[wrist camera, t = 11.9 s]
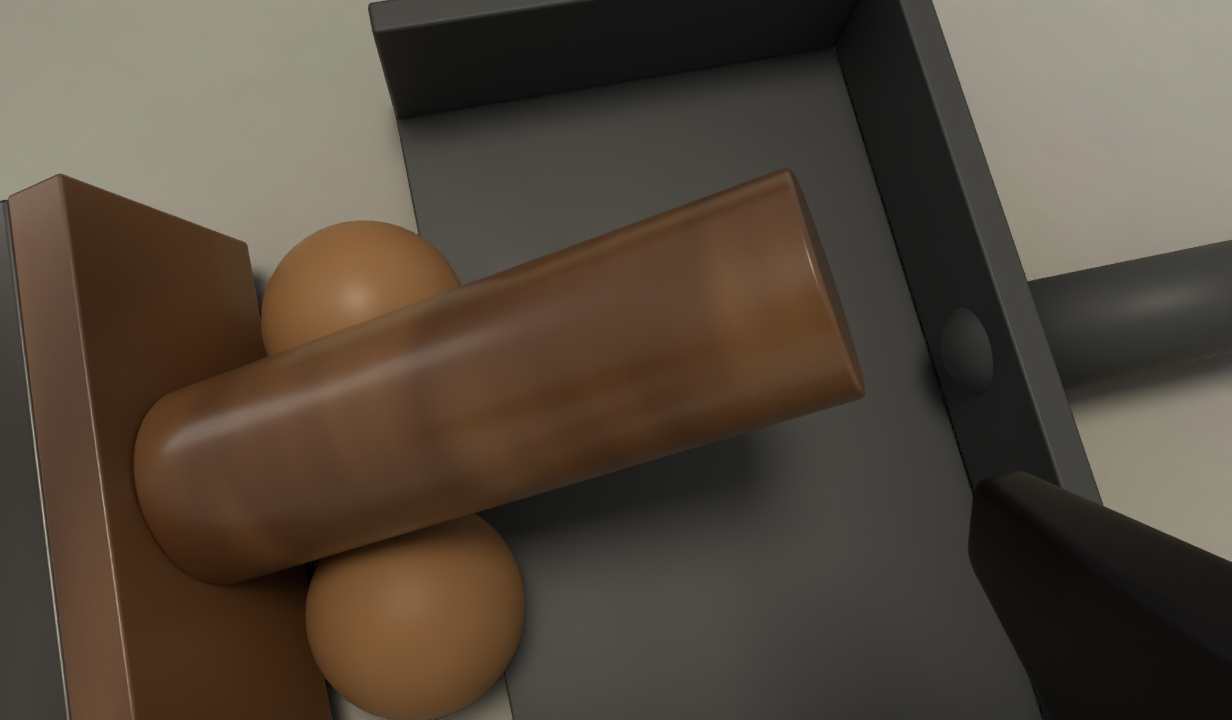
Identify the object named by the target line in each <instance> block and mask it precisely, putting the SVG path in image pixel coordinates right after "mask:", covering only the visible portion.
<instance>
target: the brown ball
mask: <svg viewBox="0 0 1232 720" xmlns="http://www.w3.org/2000/svg"><path fill="white" fill-rule="evenodd" d="M460 286H462V285H461V283H460V280H459V278H458V276H457V275H456V273H455V271H454V270H453V268H452V266H451V265H450V264H449V262H448V261H447V260H446V258H445V257H444V256H443V255H442V254H441V253H440V252H439V251H438V250H437V249H436V248H435V247H434V246H433V245H431V244H430V243H429V242H427V241H426V240H425V239H424V238H422V237H420V236H418V235H417V234H415V233H413V232H411V231H409V230H406V229H404V228H402V227H399V226H396V225H392V224H388V223H384V222H377V221H351V222H343V223H339V224H335V225H332V226H329V227H326V228H324V229H321V230H319V231H317V232H315V233H314V234H312V235H310V236H308V237H307V238H305V239H304V240H303V241H301V242H300V243H299V244H297V245H296V246H295V247H294V248H293V249H292V250H291V251H290V252H289V253H288V254H287V255H286V256H285V257H284V258H283V259H282V261H281V262H280V263H279V265H278V266H277V268H276V269H275V271H274V273H273V275H272V277H271V279H270V280H269V283H268V286H267V289H266V291H265V294H264V299H263V304H262V310H261V331H262V338H263V343H264V347H265V350H266V353H267V356H271V355H274V354H277V353H279V352H282V351H285V350H287V349H290V348H293V347H296V346H298V345H301V344H304V343H307V342H309V341H312V340H315V339H318V338H320V337H323V336H326V335H329V334H331V333H334V332H337V331H339V330H342V329H345V328H348V327H350V326H353V325H356V324H359V323H361V322H364V321H367V320H370V319H372V318H375V317H378V316H381V315H383V314H386V313H389V312H391V311H394V310H397V309H400V308H402V307H405V306H408V305H411V304H413V303H416V302H419V301H422V300H424V299H427V298H430V297H433V296H435V295H438V294H441V293H443V292H446V291H449V290H452V289H454V288H457V287H460Z"/></svg>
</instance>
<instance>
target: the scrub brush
mask: <svg viewBox="0 0 1232 720" xmlns="http://www.w3.org/2000/svg"><path fill="white" fill-rule="evenodd" d="M864 395H865V385H864V380H863V376H862V372H861V368H860V364H859V360H858V357H857V353H856V350H855V346H854V343H853V339H852V336H851V333H850V329H849V326H848V323H847V320H846V316H845V313H844V310H843V307H842V304H841V300H840V297H839V294H838V291H837V288H836V285H835V282H834V279H833V276H832V273H831V270H830V267H829V264H828V261H827V258H826V255H825V252H824V249H823V246H822V243H821V240H820V237H819V235H818V232H817V229H816V226H815V223H814V221H813V218H812V215H811V212H810V210H809V207H808V204H807V202H806V199H805V196H804V194H803V191H802V189H801V186H800V184H799V182H798V180H797V177H796V175H795V174H794V172H793V171H792V170H791V169H790V168H783V169H780V170H777V171H775V172H772V173H769V174H766V175H764V176H761V177H758V178H755V179H753V180H750V181H747V182H745V183H742V184H739V185H736V186H734V187H731V188H728V189H725V190H723V191H720V192H717V193H714V194H712V195H709V196H706V197H703V198H701V199H698V200H695V201H693V202H690V203H687V204H684V205H682V206H679V207H676V208H673V209H671V210H668V211H665V212H662V213H660V214H657V215H654V216H651V217H649V218H646V219H643V220H641V221H638V222H635V223H632V224H630V225H627V226H624V227H621V228H619V229H616V230H613V231H610V232H608V233H605V234H602V235H599V236H597V237H594V238H591V239H589V240H586V241H583V242H580V243H578V244H575V245H572V246H569V247H567V248H564V249H561V250H558V251H556V252H553V253H550V254H547V255H545V256H542V257H539V258H537V259H534V260H531V261H528V262H526V263H523V264H520V265H517V266H515V267H512V268H509V269H506V270H504V271H501V272H498V273H495V274H493V275H490V276H487V277H485V278H482V279H479V280H476V281H474V282H471V283H468V284H465V285H463V286H460V287H457V288H454V289H452V290H449V291H446V292H443V293H441V294H438V295H435V296H433V297H430V298H427V299H424V300H422V301H419V302H416V303H413V304H411V305H408V306H405V307H402V308H400V309H397V310H394V311H391V312H389V313H386V314H383V315H381V316H378V317H375V318H372V319H370V320H367V321H364V322H361V323H359V324H356V325H353V326H350V327H348V328H345V329H342V330H339V331H337V332H334V333H331V334H329V335H326V336H323V337H320V338H318V339H315V340H312V341H309V342H307V343H304V344H301V345H298V346H296V347H293V348H290V349H287V350H285V351H282V352H279V353H277V354H274V355H271V356H268V357H267V353H266V350H265V347H264V343H263V338H262V331H261V319H260V313H259V308H258V302H257V296H256V291H255V285H254V280H253V274H252V268H251V263H250V257H249V252H248V246H247V244H246V243H245V242H243V241H240V240H237V239H235V238H232V237H229V236H227V235H224V234H221V233H219V232H216V231H213V230H210V229H208V228H205V227H202V226H200V225H197V224H194V223H192V222H189V221H186V220H184V219H181V218H178V217H176V216H173V215H170V214H168V213H165V212H162V211H160V210H157V209H154V208H152V207H149V206H146V205H144V204H141V203H138V202H136V201H133V200H130V199H128V198H125V197H122V196H119V195H117V194H114V193H111V192H109V191H106V190H103V189H101V188H98V187H95V186H93V185H90V184H87V183H85V182H82V181H79V180H77V179H74V178H71V177H69V176H66V175H63V174H57V175H55V176H53V177H50V178H48V179H46V180H44V181H42V182H39V183H37V184H35V185H33V186H31V187H28V188H26V189H24V190H22V191H20V192H17V193H15V194H13V195H11V196H9V198H8V200H2V201H0V720H332V716H331V711H330V705H329V699H328V694H327V688H326V683H325V677H324V675H323V674H322V672H321V670H320V668H319V667H318V665H317V663H316V661H315V659H314V656H313V654H312V651H311V648H310V645H309V641H308V637H307V631H306V619H305V615H306V600H307V594H308V590H309V588H308V582H307V576H306V571H305V565H304V563H308V562H311V561H314V560H318V559H321V558H325V557H328V556H331V555H335V554H338V553H342V552H345V551H348V550H352V549H355V548H358V547H362V546H365V545H369V544H372V543H375V542H379V541H382V540H385V539H389V538H392V537H396V536H399V535H402V534H406V533H409V532H413V531H416V530H419V529H423V528H426V527H429V526H433V525H436V524H440V523H443V522H446V521H450V520H453V519H457V518H460V517H463V516H467V515H470V514H473V513H477V512H480V511H484V510H487V509H490V508H494V507H497V506H500V505H504V504H507V503H511V502H514V501H517V500H521V499H524V498H528V497H531V496H534V495H538V494H541V493H544V492H548V491H551V490H555V489H558V488H561V487H565V486H568V485H572V484H575V483H578V482H582V481H585V480H588V479H592V478H595V477H599V476H602V475H605V474H609V473H612V472H615V471H619V470H622V469H626V468H629V467H632V466H636V465H639V464H643V463H646V462H649V461H653V460H656V459H659V458H663V457H666V456H670V455H673V454H676V453H680V452H683V451H687V450H690V449H693V448H697V447H700V446H703V445H707V444H710V443H714V442H717V441H720V440H724V439H727V438H730V437H734V436H737V435H741V434H744V433H747V432H751V431H754V430H758V429H761V428H764V427H768V426H771V425H774V424H778V423H781V422H785V421H788V420H791V419H795V418H798V417H802V416H805V415H808V414H812V413H815V412H818V411H822V410H825V409H829V408H832V407H835V406H839V405H842V404H846V403H849V402H852V401H856V400H859V399H861V398H862V397H864Z"/></svg>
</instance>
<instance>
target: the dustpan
mask: <svg viewBox="0 0 1232 720" xmlns="http://www.w3.org/2000/svg"><path fill="white" fill-rule="evenodd" d="M368 11H369V16H370V22H371V27H372V32H373V36H374V39H375V43H376V46H377V50H378V54H379V57H380V61H381V65H382V68H383V72H384V76H385V79H386V83H387V87H388V90H389V94H390V98H391V101H392V105H393V108H394V112H395V115H396V120H397V125H398V130H399V135H400V140H401V146H402V151H403V156H404V161H405V166H406V171H407V177H408V182H409V187H410V192H411V197H412V202H413V207H414V213H415V218H416V223H417V228H418V233H419V236H420V237H422V238H424V239H425V240H426V241H427V242H429V243H430V244H431V245H433V246H434V247H435V248H436V249H437V250H438V251H439V252H440V253H441V254H442V255H443V256H444V257H445V258H446V260H447V261H448V262H449V264H450V265H451V266H452V268H453V270H454V271H455V273H456V275H457V276H458V278H459V280H460V283H461V285H462V286H463V285H465V284H468V283H471V282H474V281H476V280H479V279H482V278H485V277H487V276H490V275H493V274H495V273H498V272H501V271H504V270H506V269H509V268H512V267H515V266H517V265H520V264H523V263H526V262H528V261H531V260H534V259H537V258H539V257H542V256H545V255H547V254H550V253H553V252H556V251H558V250H561V249H564V248H567V247H569V246H572V245H575V244H578V243H580V242H583V241H586V240H589V239H591V238H594V237H597V236H599V235H602V234H605V233H608V232H610V231H613V230H616V229H619V228H621V227H624V226H627V225H630V224H632V223H635V222H638V221H641V220H643V219H646V218H649V217H651V216H654V215H657V214H660V213H662V212H665V211H668V210H671V209H673V208H676V207H679V206H682V205H684V204H687V203H690V202H693V201H695V200H698V199H701V198H703V197H706V196H709V195H712V194H714V193H717V192H720V191H723V190H725V189H728V188H731V187H734V186H736V185H739V184H742V183H745V182H747V181H750V180H753V179H755V178H758V177H761V176H764V175H766V174H769V173H772V172H775V171H777V170H780V169H783V168H790V169H791V170H792V171H793V172H794V174H795V175H796V177H797V180H798V182H799V184H800V186H801V189H802V191H803V194H804V196H805V199H806V202H807V204H808V207H809V210H810V212H811V215H812V218H813V221H814V223H815V226H816V229H817V232H818V235H819V237H820V240H821V243H822V246H823V249H824V252H825V255H826V258H827V261H828V264H829V267H830V270H831V273H832V276H833V279H834V282H835V285H836V288H837V291H838V294H839V297H840V300H841V304H842V307H843V310H844V313H845V316H846V320H847V323H848V326H849V329H850V333H851V336H852V339H853V343H854V346H855V350H856V353H857V357H858V360H859V364H860V368H861V372H862V376H863V380H864V385H865V395H864V397H862V398H861V399H859V400H856V401H852V402H849V403H846V404H842V405H839V406H835V407H832V408H829V409H825V410H822V411H818V412H815V413H812V414H808V415H805V416H802V417H798V418H795V419H791V420H788V421H785V422H781V423H778V424H774V425H771V426H768V427H764V428H761V429H758V430H754V431H751V432H747V433H744V434H741V435H737V436H734V437H730V438H727V439H724V440H720V441H717V442H714V443H710V444H707V445H703V446H700V447H697V448H693V449H690V450H687V451H683V452H680V453H676V454H673V455H670V456H666V457H663V458H659V459H656V460H653V461H649V462H646V463H643V464H639V465H636V466H632V467H629V468H626V469H622V470H619V471H615V472H612V473H609V474H605V475H602V476H599V477H595V478H592V479H588V480H585V481H582V482H578V483H575V484H572V485H568V486H565V487H561V488H558V489H555V490H551V491H548V492H544V493H541V494H538V495H534V496H531V497H528V498H524V499H521V500H517V501H514V502H511V503H507V504H504V505H500V506H497V507H494V508H490V509H487V510H484V511H480V512H477V513H474V514H476V515H478V516H479V517H481V518H482V519H483V520H485V521H486V522H487V523H488V524H490V525H491V526H492V527H493V528H494V529H495V530H496V531H497V532H498V533H499V534H500V535H501V536H502V538H503V539H504V541H505V542H506V543H507V545H508V546H509V548H510V549H511V551H512V553H513V555H514V557H515V559H516V561H517V564H518V566H519V569H520V572H521V575H522V579H523V584H524V590H525V598H526V603H525V620H524V627H523V631H522V634H521V638H520V642H519V644H518V647H517V649H516V651H515V654H514V656H513V658H512V660H511V661H510V663H509V665H508V667H507V668H506V670H505V671H504V676H505V681H506V686H507V691H508V696H509V702H510V707H511V712H512V717H513V720H1043V719H1042V716H1041V713H1040V710H1039V706H1038V703H1037V700H1036V697H1035V694H1034V690H1033V687H1032V684H1031V681H1030V678H1029V676H1028V674H1027V672H1026V670H1025V668H1024V666H1023V664H1022V663H1021V661H1020V659H1019V657H1018V655H1017V653H1016V651H1015V649H1014V647H1013V645H1012V643H1011V642H1010V640H1009V638H1008V636H1007V634H1006V632H1005V630H1004V628H1003V626H1002V624H1001V622H1000V621H999V619H998V617H997V615H996V613H995V611H994V609H993V607H992V605H991V603H990V601H989V600H988V598H987V596H986V594H985V592H984V590H983V588H982V586H981V584H980V582H979V580H978V579H977V577H976V575H975V573H974V571H973V568H972V565H971V563H970V559H969V554H968V537H969V528H970V518H971V509H972V499H973V494H972V491H971V487H970V484H969V481H968V478H967V474H966V471H965V468H964V465H963V462H962V458H961V455H960V452H959V449H958V445H957V442H956V439H955V436H954V433H953V429H952V426H951V423H950V420H949V416H948V413H947V410H946V407H945V404H944V400H943V397H942V394H941V391H940V387H939V384H938V381H937V378H936V375H935V371H934V368H933V365H932V362H931V358H930V355H929V352H928V349H927V346H926V342H925V339H924V336H923V333H922V329H921V326H920V323H919V320H918V317H917V313H916V310H915V307H914V304H913V300H912V297H911V294H910V291H909V288H908V284H907V281H906V278H905V275H904V271H903V268H902V265H901V262H900V259H899V255H898V252H897V249H896V246H895V242H894V239H893V236H892V233H891V230H890V226H889V223H888V220H887V217H886V213H885V210H884V207H883V204H882V201H881V197H880V194H879V191H878V188H877V184H876V181H875V178H874V175H873V172H872V168H871V165H870V162H869V159H868V155H867V152H866V149H865V146H864V143H863V139H862V136H861V133H860V130H859V126H858V123H857V120H856V117H855V114H854V110H853V107H852V104H851V101H850V97H849V94H848V91H847V88H846V85H845V81H844V78H843V75H842V72H841V68H840V65H839V62H838V59H837V56H836V52H835V49H834V45H835V46H836V49H837V53H838V56H839V59H840V62H841V65H842V69H843V72H844V75H845V78H846V81H847V85H848V88H849V91H850V94H851V98H852V101H853V104H854V107H855V110H856V114H857V117H858V120H859V123H860V127H861V130H862V133H863V136H864V139H865V143H866V146H867V149H868V152H869V155H870V159H871V162H872V165H873V168H874V172H875V175H876V178H877V181H878V184H879V188H880V191H881V194H882V197H883V201H884V204H885V207H886V210H887V213H888V217H889V220H890V223H891V226H892V229H893V233H894V236H895V239H896V242H897V246H898V249H899V252H900V255H901V258H902V262H903V265H904V268H905V271H906V274H907V278H908V281H909V284H910V287H911V291H912V294H913V297H914V300H915V303H916V307H917V310H918V313H919V316H920V320H921V323H922V326H923V329H924V332H925V336H926V339H927V342H928V345H929V348H930V352H931V355H932V358H933V361H934V365H935V368H936V371H937V374H938V377H939V381H940V384H941V387H942V390H943V394H944V397H945V400H946V403H947V406H948V410H949V413H950V416H951V419H952V422H953V426H954V429H955V432H956V435H957V439H958V442H959V445H960V448H961V451H962V455H963V458H964V461H965V464H966V468H967V471H968V474H969V477H970V480H971V484H972V487H973V490H974V488H975V486H976V484H977V483H978V482H979V481H980V480H982V479H983V478H986V477H991V476H995V475H999V474H1003V473H1008V472H1012V471H1022V472H1026V473H1028V474H1031V475H1033V476H1036V477H1038V478H1040V479H1042V480H1045V481H1047V482H1049V483H1052V484H1054V485H1056V486H1058V487H1061V488H1063V489H1065V490H1068V491H1070V492H1072V493H1074V494H1077V495H1079V496H1081V497H1084V498H1086V499H1088V500H1090V501H1093V502H1095V503H1097V504H1100V505H1102V506H1103V503H1102V500H1101V497H1100V494H1099V491H1098V488H1097V485H1096V482H1095V479H1094V476H1093V473H1092V470H1091V467H1090V464H1089V462H1088V459H1087V456H1086V453H1085V450H1084V447H1083V444H1082V441H1081V438H1080V435H1079V432H1078V429H1077V426H1076V423H1075V420H1074V417H1073V414H1072V411H1071V409H1070V406H1069V403H1068V400H1067V397H1066V394H1065V391H1064V389H1069V388H1073V387H1078V386H1082V385H1087V384H1092V383H1096V382H1101V381H1105V380H1110V379H1114V378H1119V377H1123V376H1128V375H1132V374H1137V373H1141V372H1146V371H1150V370H1155V369H1160V368H1164V367H1169V366H1173V365H1178V364H1182V363H1187V362H1191V361H1196V360H1200V359H1205V358H1209V357H1214V356H1219V355H1223V354H1228V353H1232V240H1228V241H1223V242H1218V243H1214V244H1209V245H1204V246H1199V247H1194V248H1189V249H1184V250H1179V251H1174V252H1169V253H1165V254H1160V255H1155V256H1150V257H1145V258H1140V259H1135V260H1130V261H1125V262H1120V263H1116V264H1111V265H1106V266H1101V267H1096V268H1091V269H1086V270H1081V271H1076V272H1071V273H1066V274H1062V275H1057V276H1052V277H1047V278H1042V279H1037V280H1032V281H1027V279H1026V276H1025V273H1024V270H1023V267H1022V264H1021V261H1020V258H1019V255H1018V252H1017V250H1016V247H1015V244H1014V241H1013V238H1012V235H1011V232H1010V229H1009V226H1008V223H1007V220H1006V217H1005V214H1004V211H1003V208H1002V205H1001V202H1000V199H999V197H998V194H997V191H996V188H995V185H994V182H993V179H992V176H991V173H990V170H989V167H988V164H987V161H986V158H985V155H984V152H983V149H982V146H981V144H980V141H979V138H978V135H977V132H976V129H975V126H974V123H973V120H972V117H971V114H970V111H969V108H968V105H967V102H966V99H965V96H964V93H963V91H962V88H961V85H960V82H959V79H958V76H957V73H956V70H955V67H954V64H953V61H952V58H951V55H950V52H949V49H948V46H947V43H946V40H945V38H944V35H943V32H942V29H941V26H940V23H939V20H938V17H937V14H936V11H935V8H934V5H933V2H932V0H387V1H381V2H374V3H370V4H369V6H368ZM1036 693H1037V691H1036ZM1037 696H1038V699H1039V702H1040V706H1041V709H1042V712H1043V715H1044V718H1045V720H1053V719H1052V717H1051V716H1050V714H1049V712H1048V711H1047V709H1046V707H1045V705H1044V704H1043V702H1042V700H1041V698H1040V696H1039V695H1038V693H1037Z"/></svg>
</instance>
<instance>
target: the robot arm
mask: <svg viewBox="0 0 1232 720" xmlns="http://www.w3.org/2000/svg"><path fill="white" fill-rule="evenodd" d="M968 554H969V559H970V563H971V565H972V568H973V571H974V573H975V575H976V577H977V579H978V580H979V582H980V584H981V586H982V588H983V590H984V592H985V594H986V596H987V598H988V600H989V601H990V603H991V605H992V607H993V609H994V611H995V613H996V615H997V617H998V619H999V621H1000V622H1001V624H1002V626H1003V628H1004V630H1005V632H1006V634H1007V636H1008V638H1009V640H1010V642H1011V643H1012V645H1013V647H1014V649H1015V651H1016V653H1017V655H1018V657H1019V659H1020V661H1021V663H1022V664H1023V666H1024V668H1025V670H1026V672H1027V674H1028V676H1029V678H1030V680H1031V682H1032V684H1033V685H1034V687H1035V689H1036V691H1037V693H1038V695H1039V696H1040V698H1041V700H1042V702H1043V704H1044V705H1045V707H1046V709H1047V711H1048V712H1049V714H1050V716H1051V717H1052V719H1053V720H1232V562H1230V561H1228V560H1226V559H1223V558H1221V557H1219V556H1216V555H1214V554H1212V553H1210V552H1207V551H1205V550H1203V549H1200V548H1198V547H1196V546H1193V545H1191V544H1189V543H1187V542H1184V541H1182V540H1180V539H1177V538H1175V537H1173V536H1171V535H1168V534H1166V533H1164V532H1161V531H1159V530H1157V529H1155V528H1152V527H1150V526H1148V525H1145V524H1143V523H1141V522H1139V521H1136V520H1134V519H1132V518H1129V517H1127V516H1125V515H1123V514H1120V513H1118V512H1116V511H1113V510H1111V509H1109V508H1106V507H1104V506H1102V505H1100V504H1097V503H1095V502H1093V501H1090V500H1088V499H1086V498H1084V497H1081V496H1079V495H1077V494H1074V493H1072V492H1070V491H1068V490H1065V489H1063V488H1061V487H1058V486H1056V485H1054V484H1052V483H1049V482H1047V481H1045V480H1042V479H1040V478H1038V477H1036V476H1033V475H1031V474H1028V473H1026V472H1022V471H1012V472H1008V473H1003V474H999V475H995V476H991V477H986V478H983V479H982V480H980V481H979V482H978V483H977V484H976V486H975V488H974V492H973V499H972V509H971V518H970V528H969V537H968Z"/></svg>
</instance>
